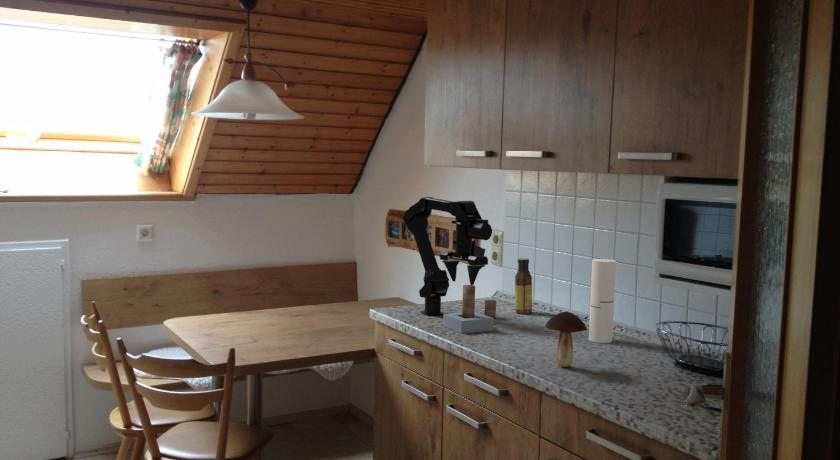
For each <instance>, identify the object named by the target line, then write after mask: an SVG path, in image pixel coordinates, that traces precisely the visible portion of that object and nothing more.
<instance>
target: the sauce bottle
mask: <svg viewBox="0 0 840 460" xmlns="http://www.w3.org/2000/svg"><path fill="white" fill-rule="evenodd" d="M517 263H518V265H517V266H518V267H517V268H518V269H517V273H515V276H514V277H515V278H514V282H515V283H514V310H515V313H517V314H521V315H522V314H523V315H529V314H532V311H533V309H532V308H533V283H532V281H533V277H532V274H531V272H530V270H529V269H530V268H529V263H530V259H529V258H525V257H520V258H519V257H518V258H517Z"/></svg>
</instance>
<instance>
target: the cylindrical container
mask: <svg viewBox="0 0 840 460" xmlns="http://www.w3.org/2000/svg"><path fill="white" fill-rule="evenodd" d="M616 265H617V260H615V259H607V258H594V259H592V260H591V276H590V277H591V279H590V299H589V300H590V302H589V303H590V304H589V321H588V322H589V324H588V341H589V342H593V343H597V344H599V343H600V344H609V343H613V334H614V333H613V331H614V312H615V311H614V308H615V291H616V290H615V289H616V288H615V286H616V267H617V266H616Z"/></svg>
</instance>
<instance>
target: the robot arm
mask: <svg viewBox="0 0 840 460" xmlns="http://www.w3.org/2000/svg"><path fill="white" fill-rule="evenodd" d="M432 210H433V211H439V212H445V213H449V214H450V215H451V216H453V217H454V219H453V220H452V221H451V224H453V225H455V240H454V239H453V240H452V244H455V250H446V251H443V250H442V251H441V252H440V254H439V260H441V262H442V263H443V264H444V266H445V268H446V269H441V268H440V267H439V264H438V261H437V258H436V255H435V252H434V249H433V246H432V243H431V240H430V237H429V233H428V225H429V217H430V216H431V215H432V212H433V211H432ZM402 219H403V222H404V225H405V226H406V229H408V230H409V232H410V233H411V234H412V235H413V237H414V240H415V242H416V243H415V244H416V246H417V247H416V248H417V250H418V253H419V255H420V260H421V262H422V266H423V268H424V274H423V275H424V276H423V283H424V284H423V286H422V287H421V288H420V289H419V291H418V293H419V297H420V298H423V299H424V310H421V311H420V313H422V314H423V315H426V316H442V315H443V314H445V312H443V311H441V310H442V297H447V293H448V290H449V288H450V282H449V281H450V279H451V280H452V282H456V279H457V270H458V265H459V264H460V261H463V262H467V264H468V265H466V268H467V273H468V280H469V285H474V284H475V283H476V279H477V276H478V274H479V272H480V271H481V270H482V268H484V267H486V266H487V265H489V258H488V257H487V256H486V255H485V254H486V248H483V247H481V246H478V245H476V241H475V240H481V241H488V240H490V239H491V238H492V235H493V229H492V226H491V224H490V223H489V219H483V218H482V216H481V214H480V212H479V209H478V208H477V205H476V203H475V201H473V200H458V201H457V200H456V201H455V200H454V201H452V200H447V199H442V198H441V199H440V198H437V197H436V198H434V197H432V196H431V197H430V196H424V197H420V199H419V200H418V201H417V202H415V203H414V204H413V205H411V206H410V207H409V208H408V209H406V210H405V212H404V214H403V216H402ZM446 270H447V271H446ZM447 273H448V274H449V276H450V279H449V277H448V274H447ZM474 286H475V285H474Z"/></svg>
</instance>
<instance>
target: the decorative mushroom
mask: <svg viewBox="0 0 840 460" xmlns="http://www.w3.org/2000/svg"><path fill="white" fill-rule="evenodd" d="M545 328H546V329H548V330H553V331H556V332H557V331H558V332H559V337H558V342H557V347H556V348H557V349H556V351H557V352H556V363H557V364H558V365H559V366H560V367H562V368H568V367H571V365H572V364H573V359H574V357H573V356H574V348H573V347H574V346H573V338H572V337H573V335H572V334H573V333H577V332H578V333H581V332H585V331H588V329H587V326H586V324H585V323H584V321H583V320H582V319H581V318H580V317H578V316H577V315H576V314H574V313H572V312H569V311H562V312H559V313H557V314H555V315H553V316H551V318H549V319H548V321H547V322H546V323H545Z"/></svg>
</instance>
